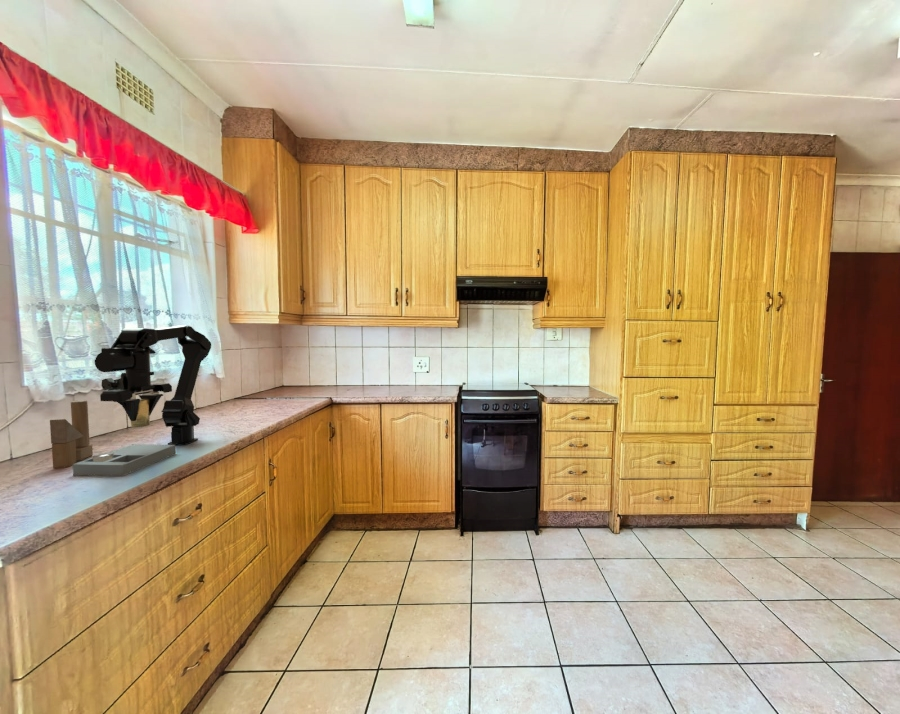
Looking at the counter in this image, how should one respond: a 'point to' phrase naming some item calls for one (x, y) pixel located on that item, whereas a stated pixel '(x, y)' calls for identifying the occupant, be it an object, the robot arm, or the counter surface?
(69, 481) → the counter surface
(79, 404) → the wooden block
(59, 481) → the counter surface
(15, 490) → the counter surface
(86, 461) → the jig
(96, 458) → the chrome sphere
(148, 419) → the brass cylinder
